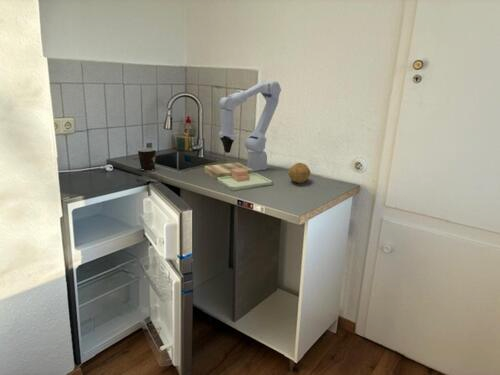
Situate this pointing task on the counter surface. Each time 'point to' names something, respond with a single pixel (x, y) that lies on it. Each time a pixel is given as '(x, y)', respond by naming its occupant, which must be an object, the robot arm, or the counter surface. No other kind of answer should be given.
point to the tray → (244, 182)
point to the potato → (299, 172)
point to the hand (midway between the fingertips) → (227, 152)
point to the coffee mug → (147, 158)
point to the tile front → (241, 178)
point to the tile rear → (239, 172)
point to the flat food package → (224, 169)
